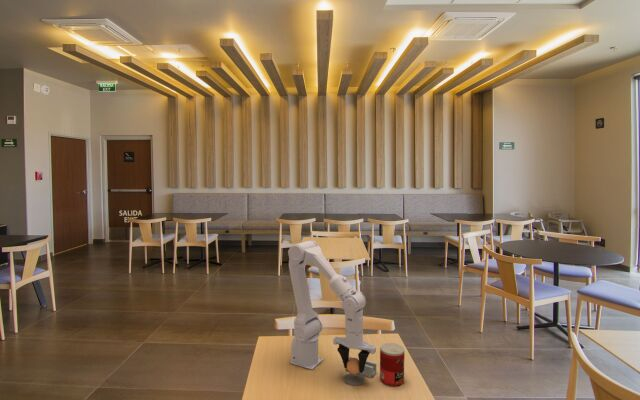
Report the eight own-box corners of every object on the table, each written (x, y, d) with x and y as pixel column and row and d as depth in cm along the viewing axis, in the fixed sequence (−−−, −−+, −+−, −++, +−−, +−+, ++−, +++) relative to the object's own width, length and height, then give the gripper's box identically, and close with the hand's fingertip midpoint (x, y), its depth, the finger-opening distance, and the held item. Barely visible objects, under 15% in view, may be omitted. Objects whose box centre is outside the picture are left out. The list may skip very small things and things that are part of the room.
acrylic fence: (345, 369, 131) (345, 360, 131) (349, 365, 134) (349, 356, 134) (372, 377, 126) (372, 367, 126) (376, 373, 129) (376, 363, 129)
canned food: (399, 389, 120) (399, 356, 119) (376, 381, 124) (376, 349, 123) (407, 377, 126) (407, 346, 125) (384, 371, 131) (385, 340, 130)
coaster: (339, 381, 124) (339, 381, 124) (349, 371, 130) (349, 370, 130) (359, 387, 121) (359, 387, 121) (367, 377, 127) (367, 376, 127)
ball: (344, 374, 124) (344, 360, 124) (350, 367, 129) (350, 353, 128) (358, 378, 122) (358, 363, 122) (364, 371, 126) (364, 357, 126)
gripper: (379, 329, 124) (379, 369, 125) (339, 320, 131) (340, 358, 132) (371, 337, 118) (371, 379, 119) (330, 328, 125) (330, 367, 126)
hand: (354, 369), depth 125 cm, fingers closed on ball, 5 cm apart
